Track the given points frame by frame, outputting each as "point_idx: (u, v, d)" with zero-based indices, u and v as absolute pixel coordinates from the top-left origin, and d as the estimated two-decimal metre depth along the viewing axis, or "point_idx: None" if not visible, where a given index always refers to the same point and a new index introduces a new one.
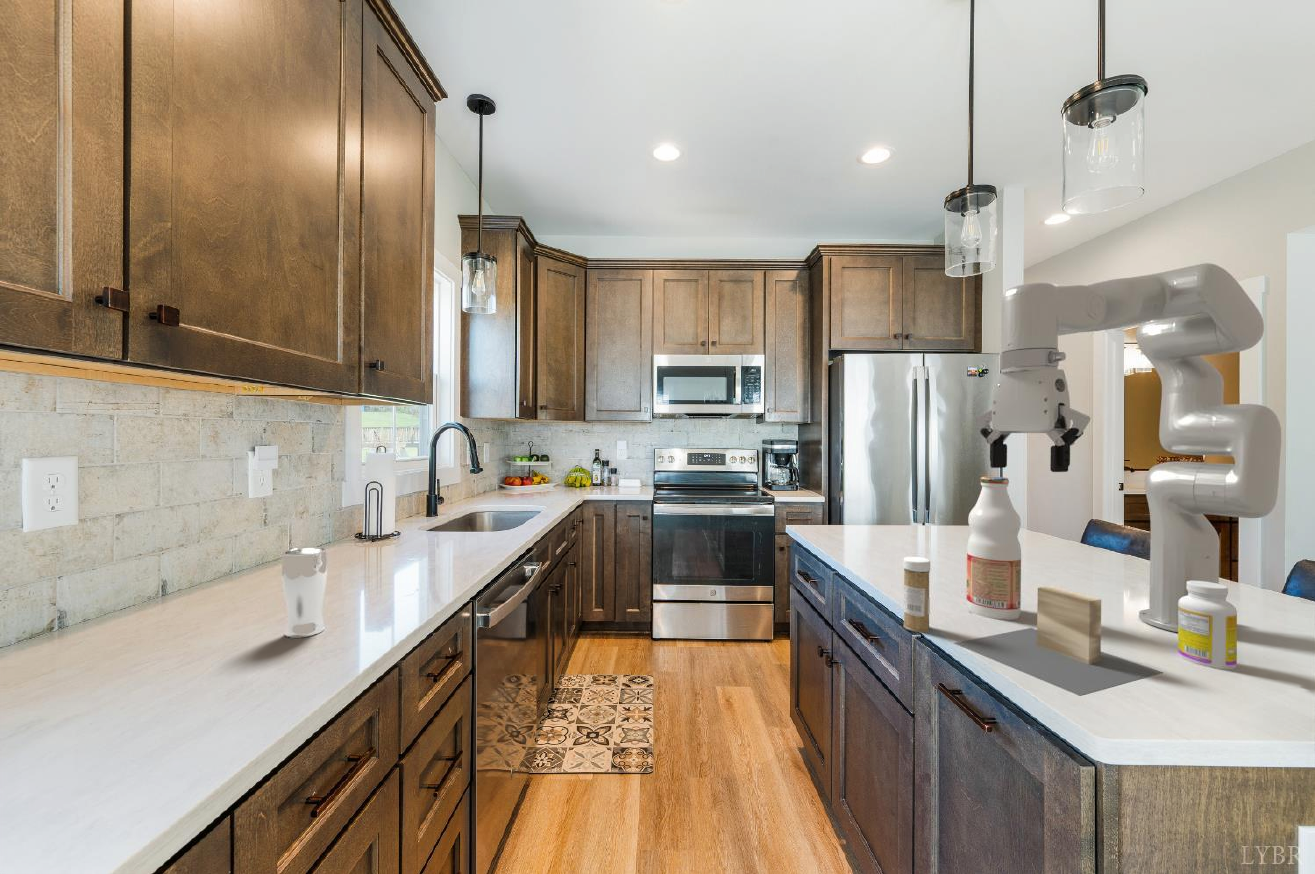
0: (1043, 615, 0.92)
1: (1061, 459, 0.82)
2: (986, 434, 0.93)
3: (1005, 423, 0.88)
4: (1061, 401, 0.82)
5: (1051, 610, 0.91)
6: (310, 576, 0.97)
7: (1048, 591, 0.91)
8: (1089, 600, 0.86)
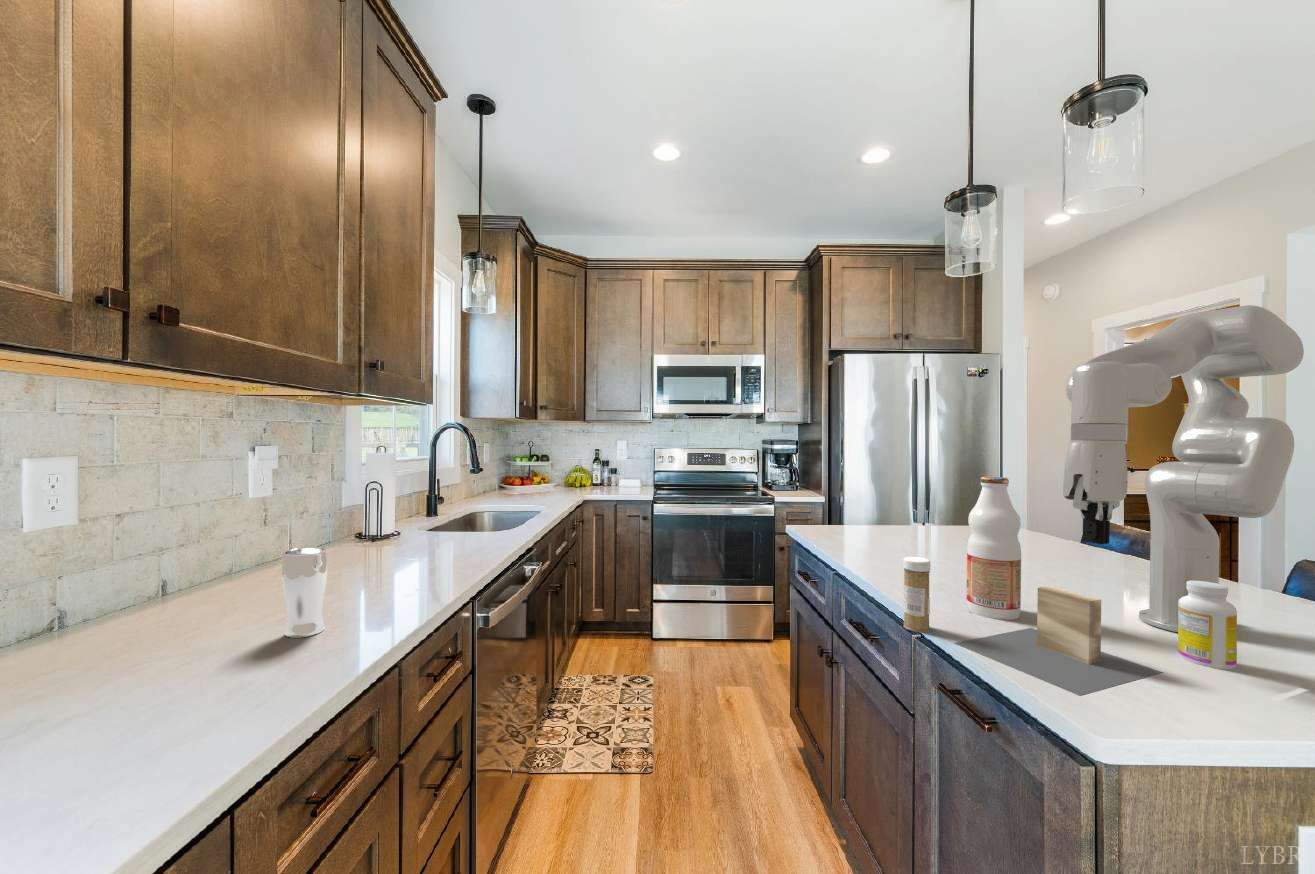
0: (1043, 615, 0.92)
1: None
2: (1093, 510, 0.91)
3: (1103, 493, 0.89)
4: None
5: (1051, 610, 0.91)
6: (310, 576, 0.97)
7: (1048, 591, 0.91)
8: (1089, 600, 0.86)
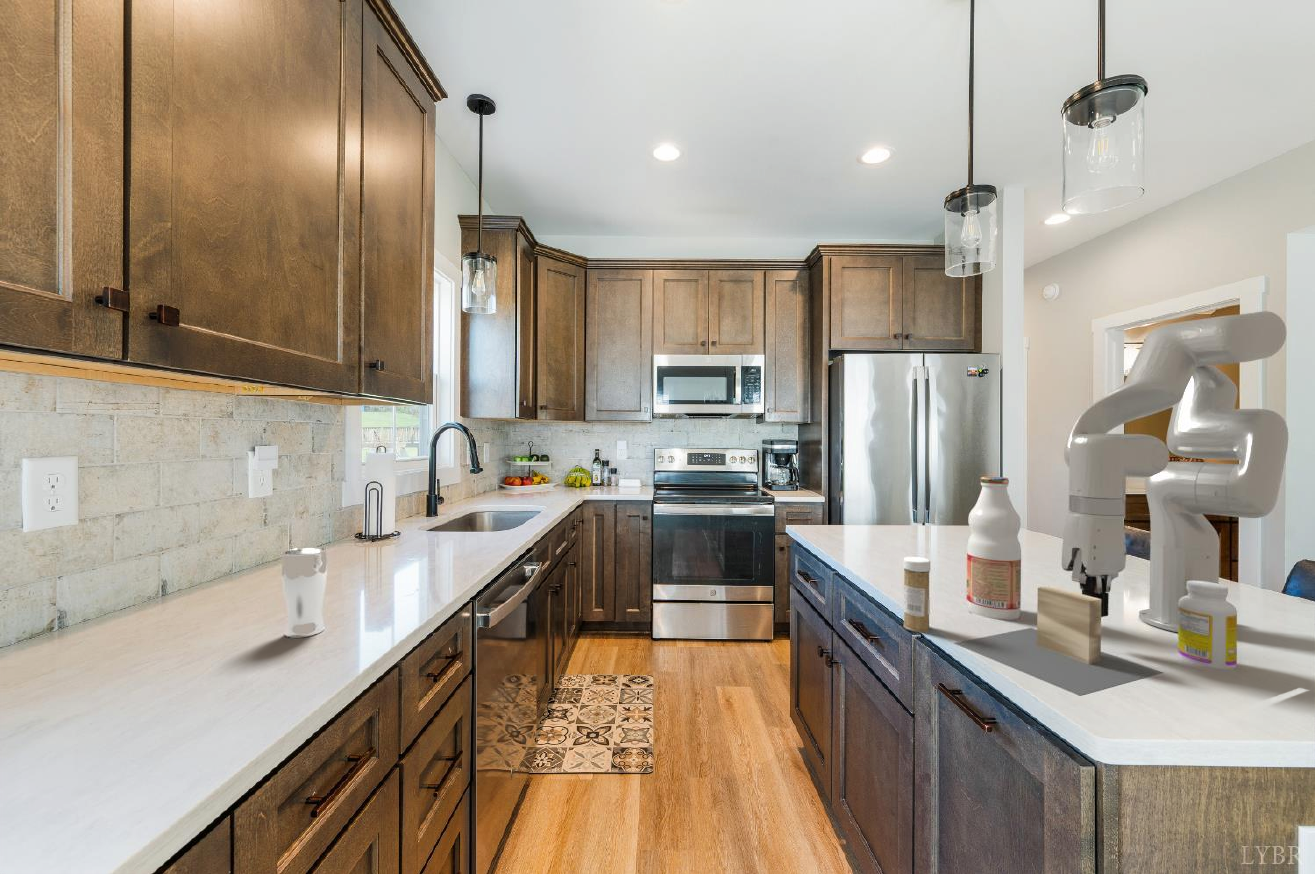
0: (1043, 615, 0.92)
1: None
2: (1092, 584, 0.91)
3: (1101, 567, 0.89)
4: None
5: (1051, 610, 0.91)
6: (310, 576, 0.97)
7: (1048, 591, 0.91)
8: (1089, 600, 0.86)
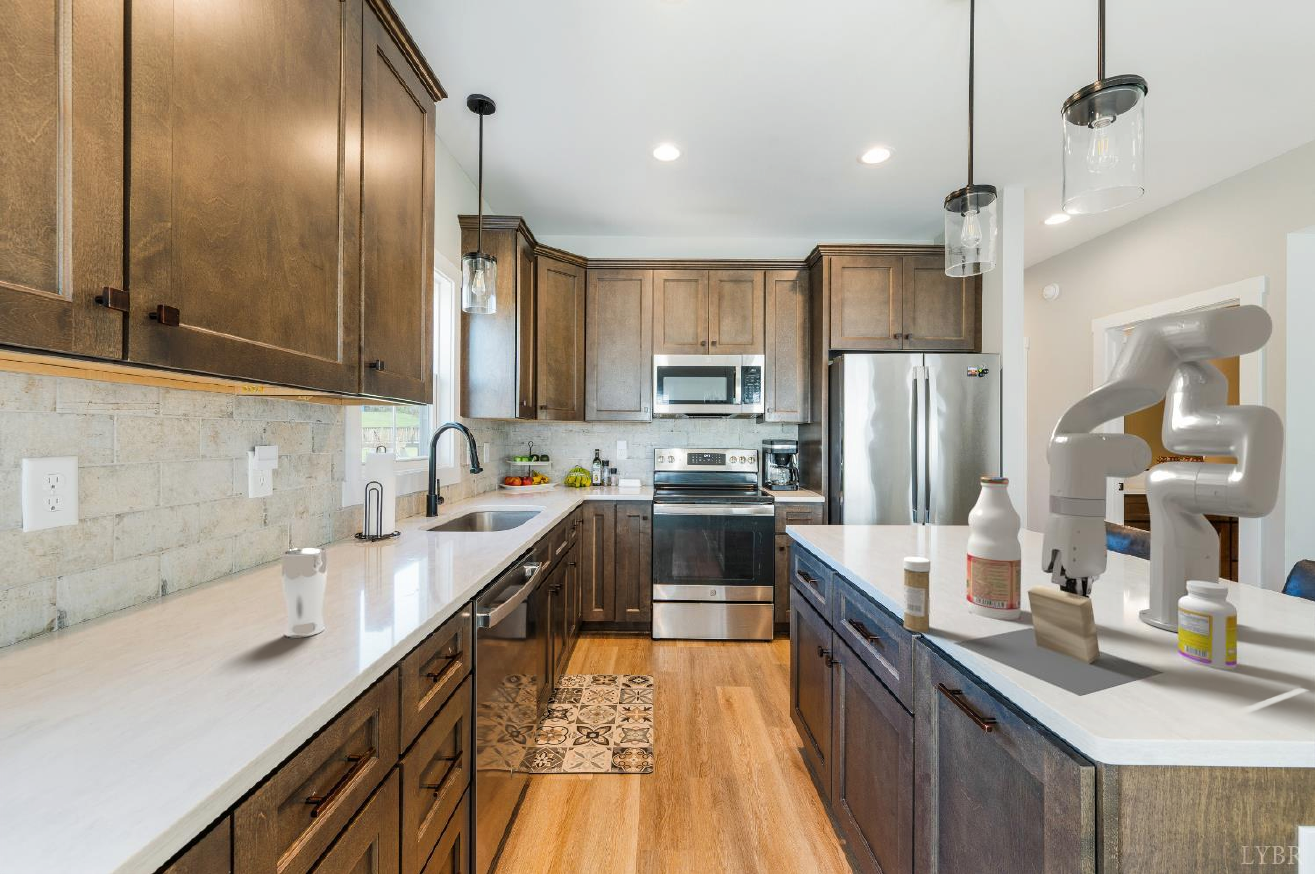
0: (1037, 617, 0.91)
1: None
2: (1072, 586, 0.89)
3: (1081, 569, 0.87)
4: None
5: (1044, 613, 0.90)
6: (310, 576, 0.97)
7: (1038, 594, 0.90)
8: (1079, 603, 0.85)
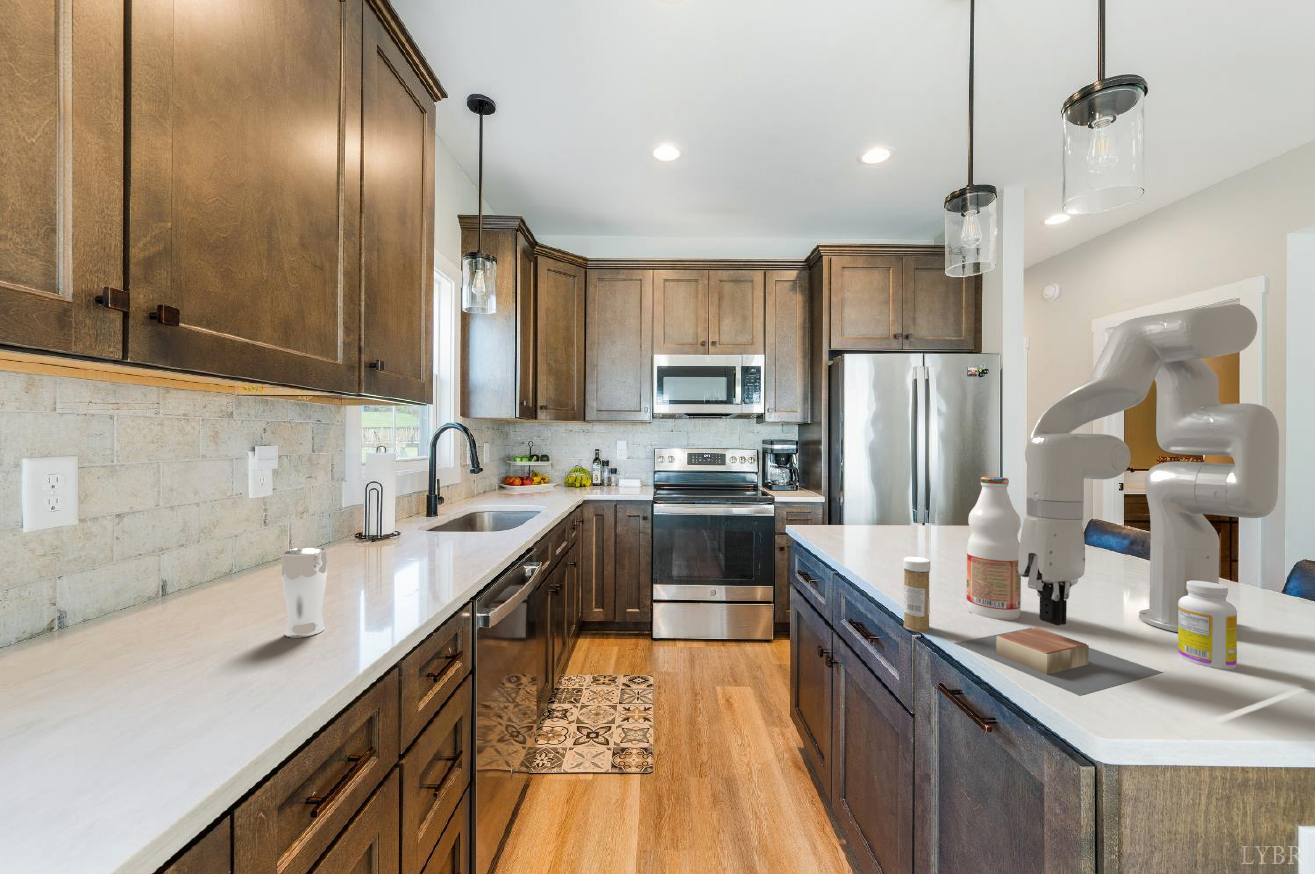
0: None
1: None
2: (1049, 590, 0.87)
3: (1058, 574, 0.85)
4: None
5: None
6: (310, 576, 0.97)
7: (1007, 658, 0.88)
8: (1044, 670, 0.82)
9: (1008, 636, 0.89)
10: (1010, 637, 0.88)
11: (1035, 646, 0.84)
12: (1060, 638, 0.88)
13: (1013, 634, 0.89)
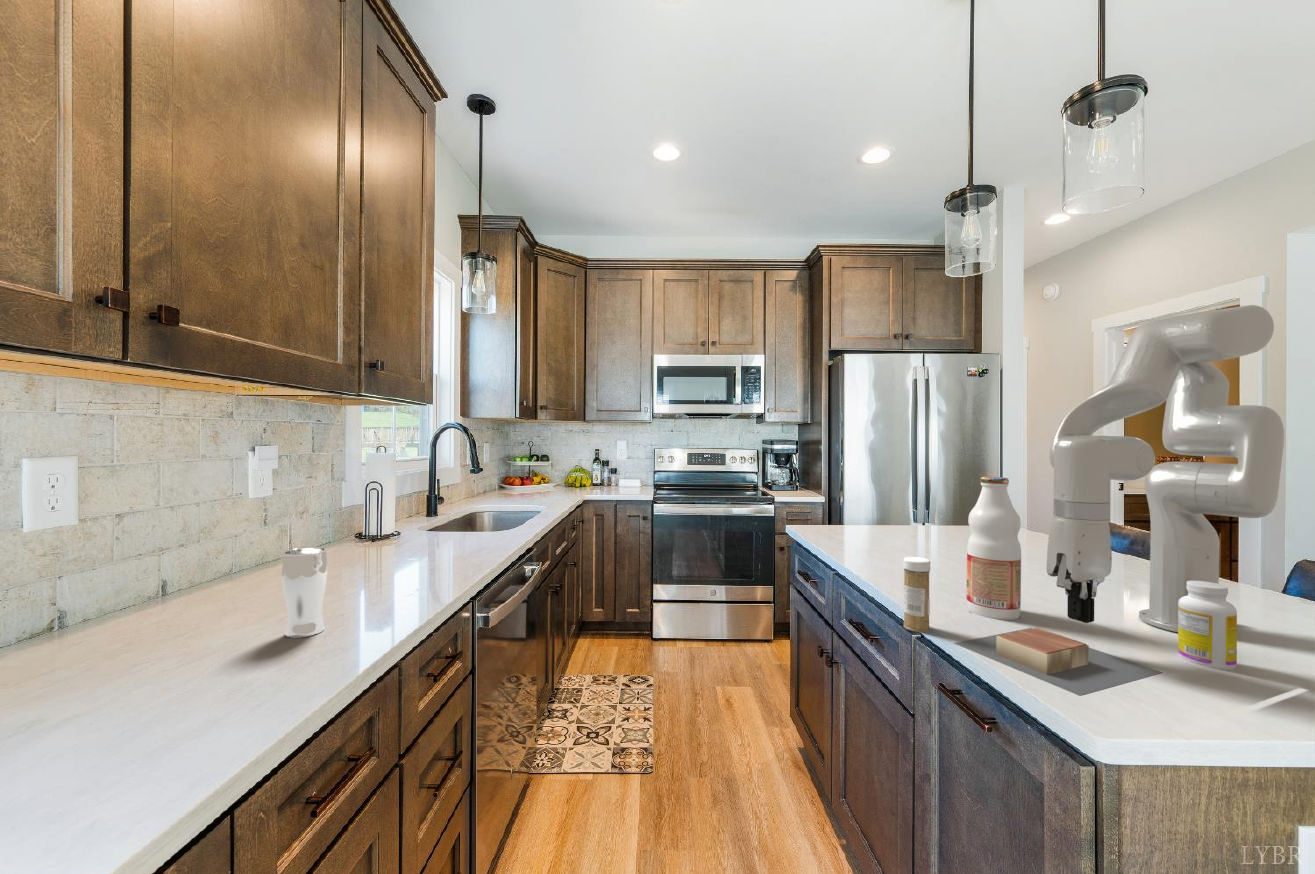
0: None
1: None
2: (1077, 589, 0.89)
3: (1086, 573, 0.88)
4: None
5: None
6: (310, 576, 0.97)
7: (1007, 658, 0.88)
8: (1044, 670, 0.82)
9: (1008, 636, 0.89)
10: (1010, 637, 0.88)
11: (1035, 646, 0.84)
12: (1060, 638, 0.88)
13: (1013, 634, 0.89)
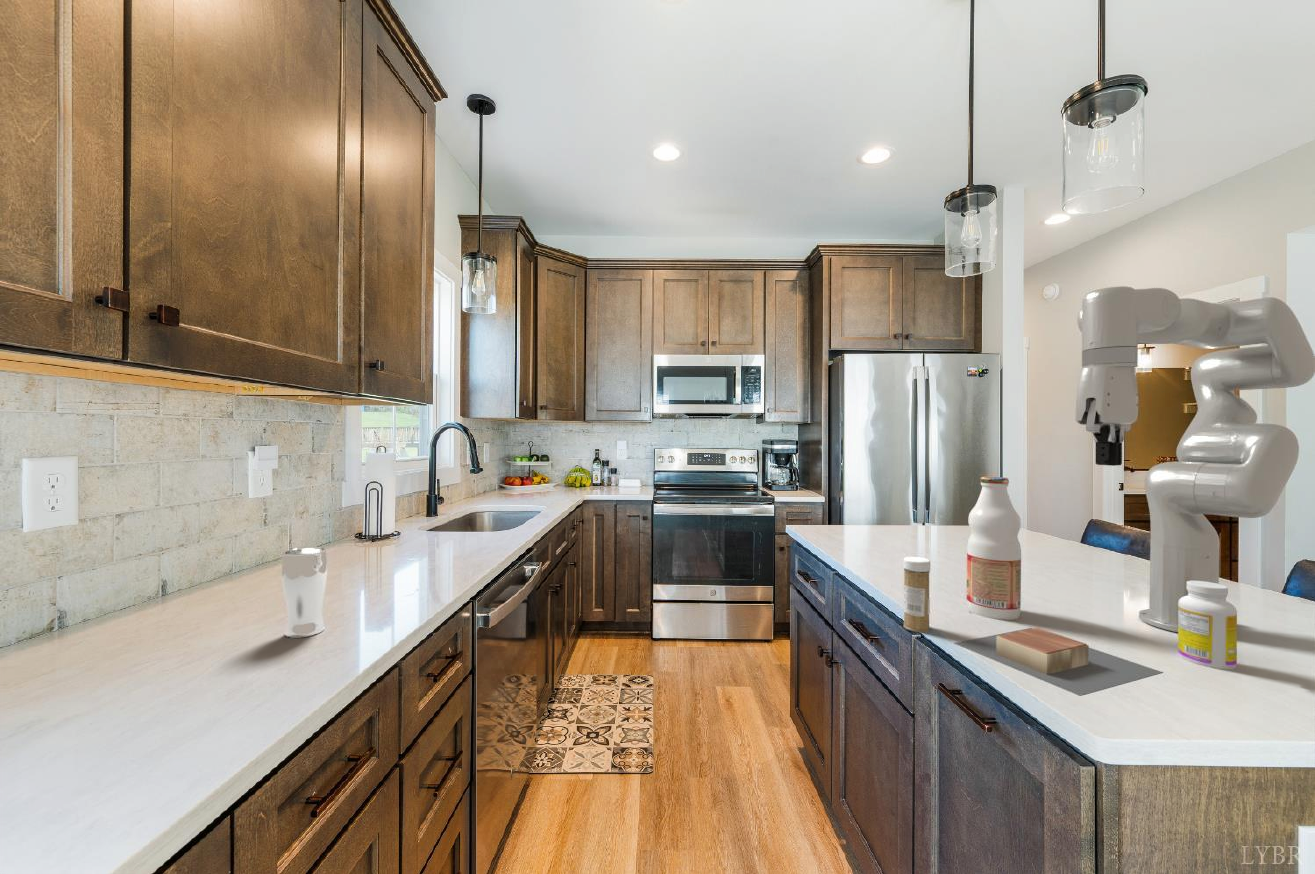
0: None
1: None
2: (1106, 433, 0.93)
3: (1115, 415, 0.92)
4: None
5: None
6: (310, 576, 0.97)
7: (1007, 658, 0.88)
8: (1044, 670, 0.82)
9: (1008, 636, 0.89)
10: (1010, 637, 0.88)
11: (1035, 646, 0.84)
12: (1060, 638, 0.88)
13: (1013, 634, 0.89)
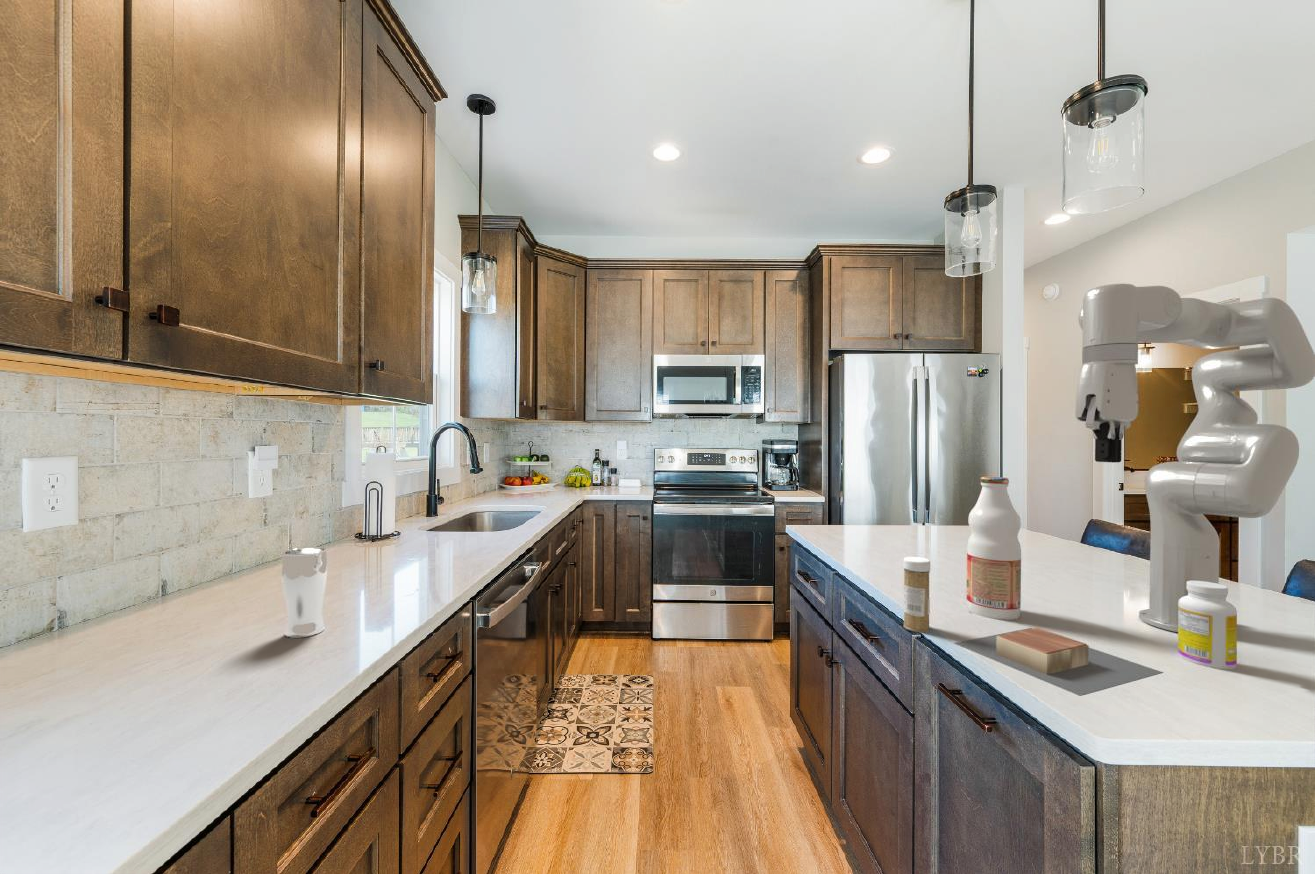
0: None
1: None
2: (1105, 430, 0.93)
3: (1115, 412, 0.92)
4: None
5: None
6: (310, 576, 0.97)
7: (1007, 658, 0.88)
8: (1044, 670, 0.82)
9: (1008, 636, 0.89)
10: (1010, 637, 0.88)
11: (1035, 646, 0.84)
12: (1060, 638, 0.88)
13: (1013, 634, 0.89)
